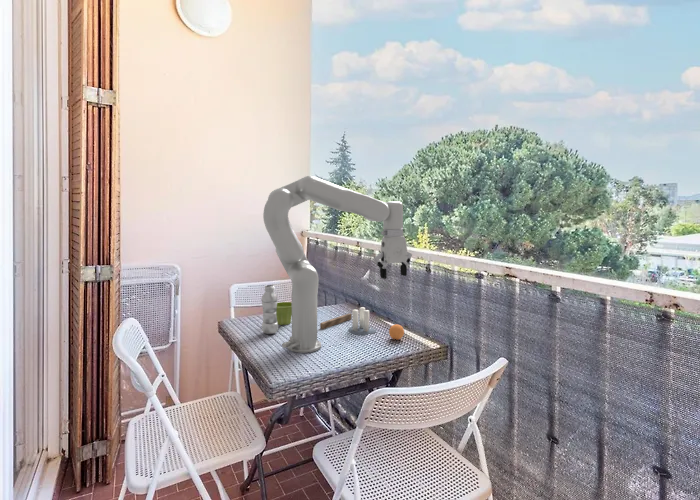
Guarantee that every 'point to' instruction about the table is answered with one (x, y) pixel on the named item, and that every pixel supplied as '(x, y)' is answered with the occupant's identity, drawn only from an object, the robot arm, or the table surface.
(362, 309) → the pin
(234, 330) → the table surface
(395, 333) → the ball
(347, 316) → the bar
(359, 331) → the pin spot mat
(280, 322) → the plant pot
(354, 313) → the pin
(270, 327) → the plastic bottle
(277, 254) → the robot arm
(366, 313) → the front pin
